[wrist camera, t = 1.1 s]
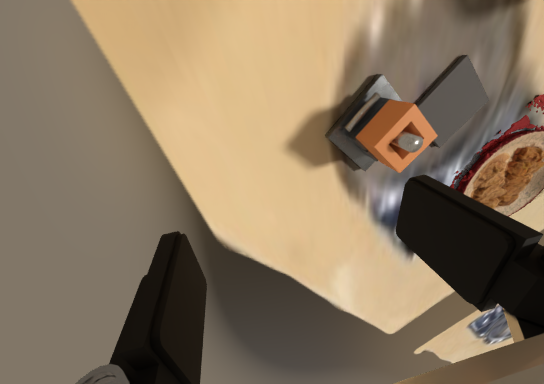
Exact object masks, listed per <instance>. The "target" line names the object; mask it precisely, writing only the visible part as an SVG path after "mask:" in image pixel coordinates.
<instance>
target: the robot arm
mask: <svg viewBox="0 0 544 384" xmlns="http://www.w3.org/2000/svg"><path fill="white" fill-rule="evenodd" d="M396 234H397V236H398V237H399V238H400V239H401V240H402V241H403V242H404V243H405V244H406V245H407V246H408V247H409V248H410V249H411V250H412V251H413V252H414V253H416V254H417V255H418V256H419V257H420V258H421V259H422V260H423V261H424V262H425V263H426V264H427V265H428V266H429V267H430V268H431V269H433V270H434V271H435V272H436V273H437V274H438V275H439V276H440V277H441V278H442V279H443V280H444V281H445V282H446V283H447V284H448V285H450V286H451V287H452V288H453V289H454V290H455V291H456V292H457V293H458V294H459V295H460V296H461V297H462V298H463V299H465V300H466V301H467V302H469V303H471V304H473V305H474V306H475V307H477V309H478V310H480V311H481V312H483V311H486V310H490V309H493V308H495V307H496V305H497V304H499V305H500V306H502V307H503V310H504V313H505V317H506V320H507V323H508V326H509V329H510V332H511V335H512V338H513V341H514V343H513V344H510V345H507V346H504V347H501V348H498V349H495V350H492V351H489V352H486V353H483V354H480V355H477V356H474V357H471V358H468V359H465V360H462V361H459V362H456V363H453V364H450V365H447V366H444V367H441V368H439V369H435V370H432V371H429V372H426V373H423V374H420V375H417V376H414V377H412V378H409V379H406V380H403V381H400V382H397V383H394V384H544V246H541V245H539V244H538V242H539V240H540V239H541V237H542V236H543V234H542V233H540V232H538V231H536V230H534V229H532V228H530V227H528V226H526V225H524V224H522V223H520V222H518V221H516V220H514V219H512V218H510V217H508V216H506V215H504V214H502V213H500V212H498V211H496V210H494V209H492V208H490V207H488V206H486V205H484V204H482V203H480V202H478V201H476V200H475V199H473V198H471V197H469V196H467V195H465V194H463V193H461V192H459V191H457V190H455V189H453V188H451V187H449V186H447V185H445V184H443V183H441V182H439V181H437V180H435V179H433V178H431V177H429V176H427V175H420V176H416V177H412V178H410V179H409V180H408V181H407V183H406V184H405V187H404V191H403V196H402V201H401V206H400V211H399V216H398V221H397V226H396ZM206 285H207V284H206V279H205V277H204V274H203V272H202V270H201V268H200V265H199V263H198V261H197V259H196V256H195V254H194V252H193V250H192V248H191V245H190V243H189V241H188V239H187V236H186V235H185V234H180V232H178V231H177V232H172V233H168V234H164V235H162V236H161V238H160V241H159V244H158V247H157V250H156V252H155V255H154V257H153V260H152V263H151V266H150V268H149V272H148V274H147V275H145V276H144V277H143V278H142V280H141V283H140V285H139V288H138V290H137V293H136V295H135V298H134V301H133V303H132V306H131V308H130V311H129V313H128V316H127V319H126V321H125V324H124V326H123V329H122V332H121V334H120V337H119V340H118V342H117V344H116V347H115V350H114V352H113V355H112V358H111V360H110V363H109V364H108V365H103V366H100V367H98V368H96V369H94V370H92V371H90V372H89V373H88V374H86V375H85V376H84V377H82V378H81V379H80V380H79V381H78V382H77V383H76V384H200V375H201V361H202V347H203V333H204V318H205V305H206V290H207V286H206Z"/></svg>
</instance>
